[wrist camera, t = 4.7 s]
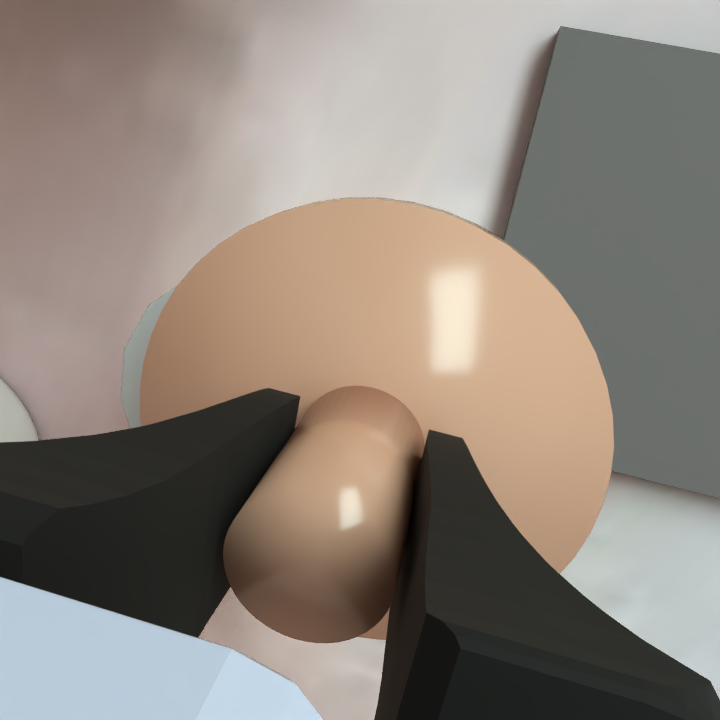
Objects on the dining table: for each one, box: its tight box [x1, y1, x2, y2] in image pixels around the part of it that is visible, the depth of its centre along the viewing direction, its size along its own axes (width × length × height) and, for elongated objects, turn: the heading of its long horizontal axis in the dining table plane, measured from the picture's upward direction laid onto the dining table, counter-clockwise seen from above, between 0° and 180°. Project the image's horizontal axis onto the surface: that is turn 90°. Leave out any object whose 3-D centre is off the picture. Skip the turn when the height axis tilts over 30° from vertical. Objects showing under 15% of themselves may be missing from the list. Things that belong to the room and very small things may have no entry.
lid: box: [140, 198, 614, 643], centre depth 11 cm, size 9×9×4 cm
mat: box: [503, 26, 720, 498], centre depth 19 cm, size 12×12×1 cm
